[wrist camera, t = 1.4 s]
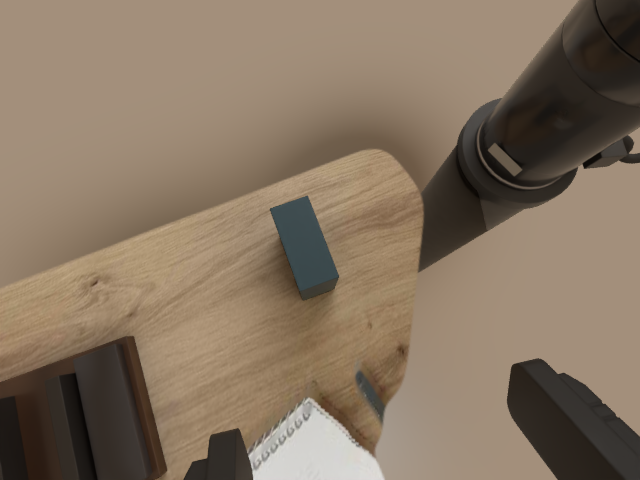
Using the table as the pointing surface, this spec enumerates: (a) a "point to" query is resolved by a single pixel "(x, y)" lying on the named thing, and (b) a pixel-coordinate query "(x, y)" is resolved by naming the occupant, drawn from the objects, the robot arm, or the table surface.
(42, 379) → the brown wooden stand
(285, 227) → the back pad
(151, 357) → the table surface
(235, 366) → the table surface
